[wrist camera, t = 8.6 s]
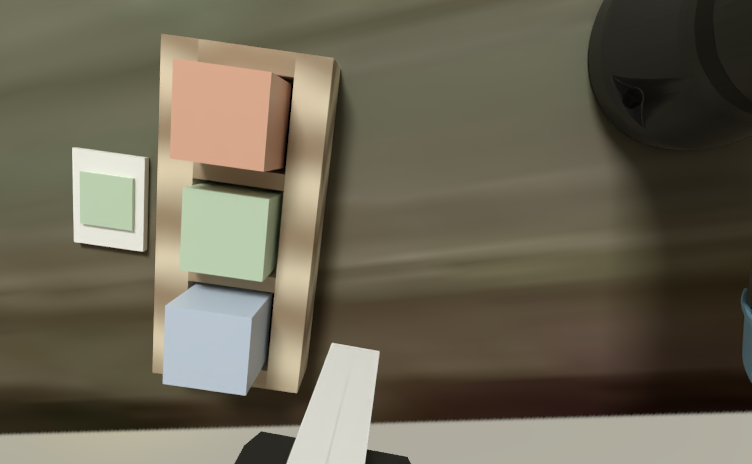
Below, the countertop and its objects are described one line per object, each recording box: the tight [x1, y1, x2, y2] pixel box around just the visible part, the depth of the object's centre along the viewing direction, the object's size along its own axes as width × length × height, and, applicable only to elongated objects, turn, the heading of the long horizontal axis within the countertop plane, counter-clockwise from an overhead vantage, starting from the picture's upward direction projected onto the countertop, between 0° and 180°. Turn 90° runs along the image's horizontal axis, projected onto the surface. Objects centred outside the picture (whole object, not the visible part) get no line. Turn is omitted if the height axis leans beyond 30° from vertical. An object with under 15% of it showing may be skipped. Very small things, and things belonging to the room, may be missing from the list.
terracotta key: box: [170, 58, 291, 172], centre depth 28 cm, size 6×6×5 cm
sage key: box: [180, 181, 284, 282], centre depth 31 cm, size 6×6×5 cm
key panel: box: [153, 34, 341, 393], centre depth 33 cm, size 26×12×4 cm, turn 172°
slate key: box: [163, 282, 273, 396], centre depth 31 cm, size 6×6×5 cm
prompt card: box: [72, 148, 149, 252], centre depth 34 cm, size 8×6×1 cm
